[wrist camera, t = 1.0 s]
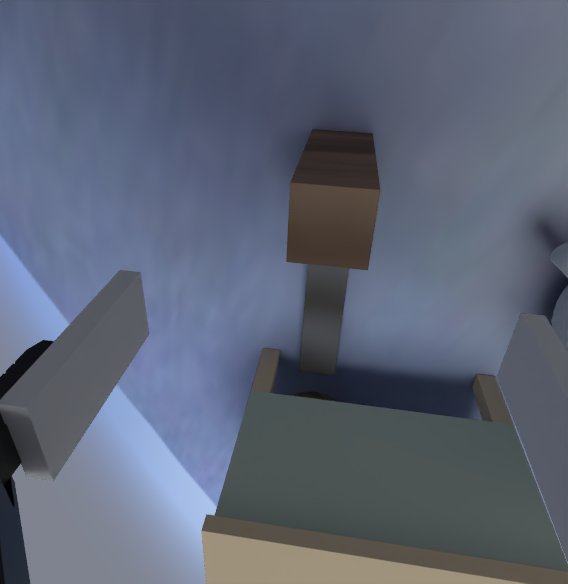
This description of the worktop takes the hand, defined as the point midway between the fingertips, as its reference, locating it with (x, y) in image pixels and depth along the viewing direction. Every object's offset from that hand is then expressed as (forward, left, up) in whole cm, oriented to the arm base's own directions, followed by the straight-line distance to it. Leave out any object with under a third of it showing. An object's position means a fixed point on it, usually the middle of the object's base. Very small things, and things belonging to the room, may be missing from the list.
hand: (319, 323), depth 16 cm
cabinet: (+21, +5, -19) cm, 29 cm away
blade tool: (+7, 0, -19) cm, 20 cm away
